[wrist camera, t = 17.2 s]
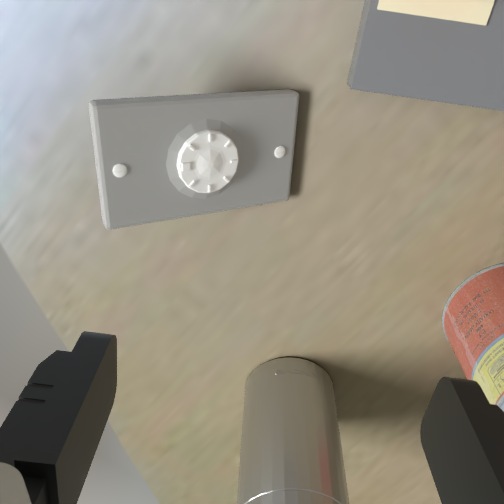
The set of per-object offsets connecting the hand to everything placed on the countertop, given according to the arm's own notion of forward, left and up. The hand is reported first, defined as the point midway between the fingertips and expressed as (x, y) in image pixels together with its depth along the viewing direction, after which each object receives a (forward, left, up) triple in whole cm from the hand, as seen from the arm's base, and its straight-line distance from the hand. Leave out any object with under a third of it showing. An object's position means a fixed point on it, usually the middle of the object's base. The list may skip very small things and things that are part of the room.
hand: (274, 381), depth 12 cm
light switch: (-3, +5, -28) cm, 28 cm away
